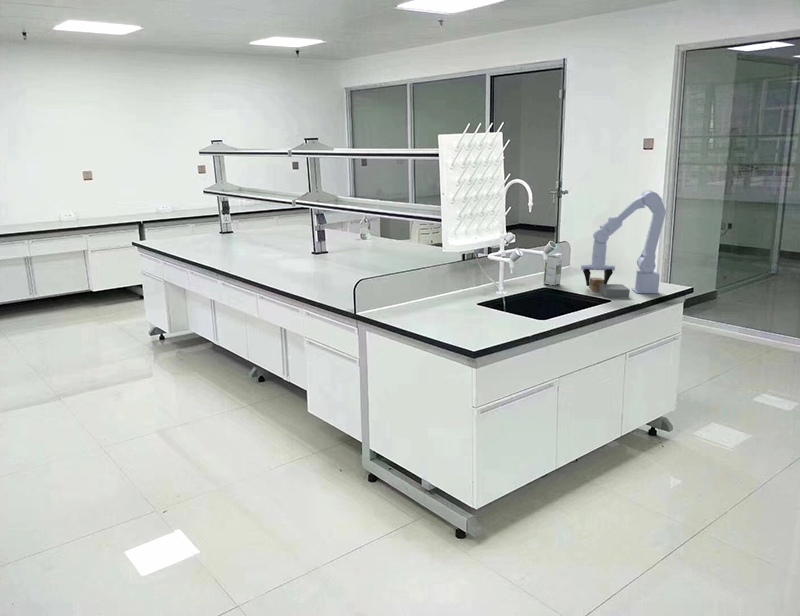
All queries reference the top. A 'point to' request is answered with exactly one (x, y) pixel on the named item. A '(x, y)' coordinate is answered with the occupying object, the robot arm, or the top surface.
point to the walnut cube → (595, 283)
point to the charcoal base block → (614, 290)
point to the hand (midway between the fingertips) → (596, 285)
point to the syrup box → (553, 269)
